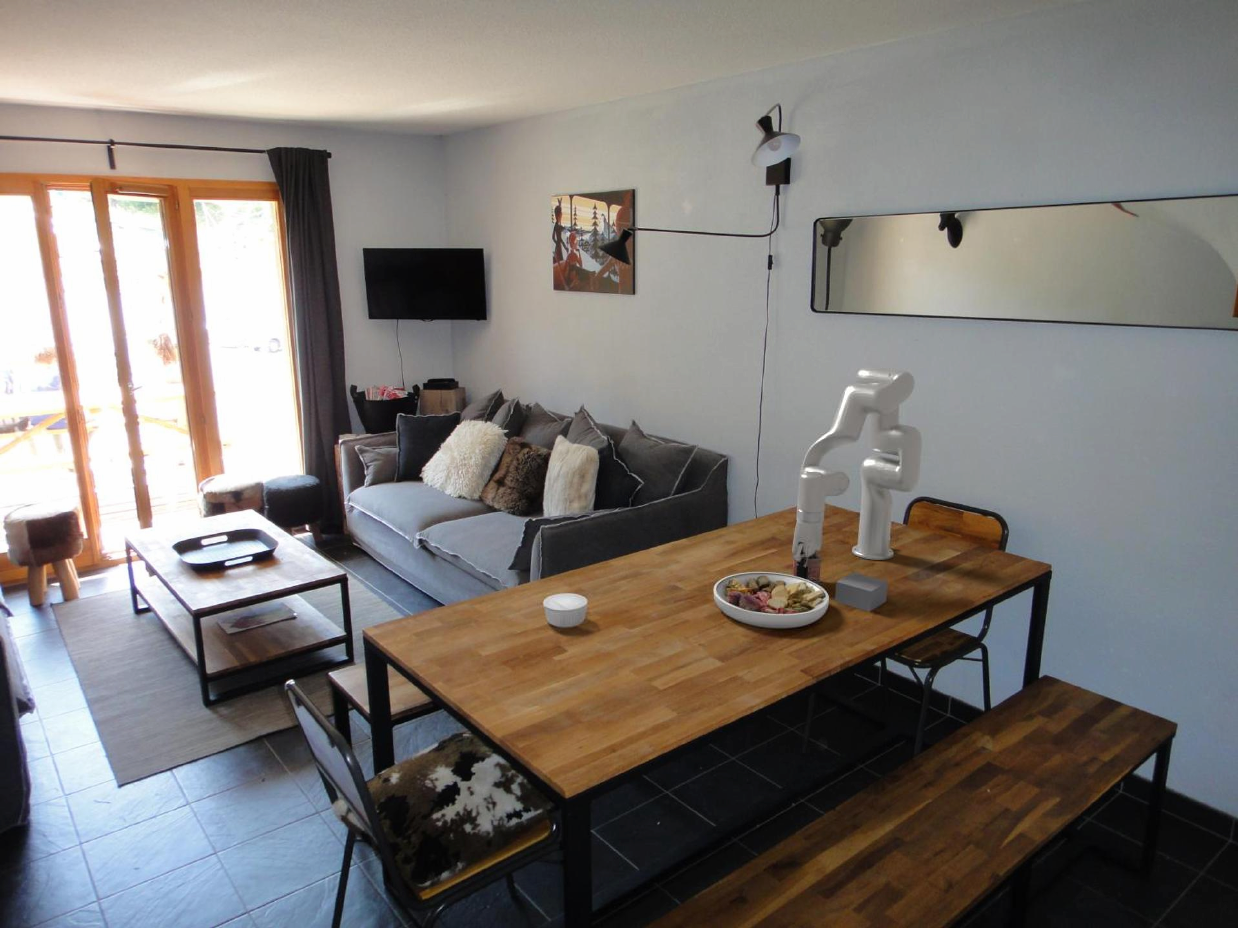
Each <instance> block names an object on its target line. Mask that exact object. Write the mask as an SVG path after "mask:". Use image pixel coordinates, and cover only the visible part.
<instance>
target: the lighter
mask: <svg viewBox="0 0 1238 928" xmlns="http://www.w3.org/2000/svg"><path fill="white" fill-rule="evenodd" d="M818 554H819V551H818V550H817V551H815V553H814V556H813V555H811V556H809V558H808V563H807V566H808V579H807V580H809V581H811V582H813V583H815V584H817V585H819V584H820V583H821V577H820V576H821V565H822V561H823V560H822V559H823V558H822V557H821V556H818ZM795 555H796V554H795ZM795 555H794V554H793V555H792V564H793V565H792V574H791V575H792V576H796V575H797V562H796V560H795ZM802 555H805V553H802ZM801 558H802V559H803V560H804V561H805V558H803V557H801Z"/></svg>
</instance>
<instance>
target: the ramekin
mask: <svg viewBox="0 0 1238 928" xmlns="http://www.w3.org/2000/svg"><path fill="white" fill-rule="evenodd" d="M542 605H543V609H544V613H545V618H546V620H547V622H548V624H550V625H551V626H554V627H557V628H573V627H577V626H579V625H581V624H582V623H583V622H584V620H585V619H586V613H587V607H588V605H589V602H588V599H587V598H586V597H585V596H583V595H581V594H577V593H568V592H567V593H566V592H565V593H563V592H562V593H556V594H552V595H550V596H547V597H546V598H544V600H543V602H542Z"/></svg>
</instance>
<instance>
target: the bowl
mask: <svg viewBox="0 0 1238 928" xmlns="http://www.w3.org/2000/svg"><path fill="white" fill-rule="evenodd" d="M713 598H714V601H715V604H716V605H717V607H718V608H719V609H720V611H722V612H723V614H724V615H727V617H730V618H731V619H733V620H735V621H738V622H740V623H743V624H747V625H751V626H754V627H760V628H765V629H792V628H798V627H799V628H800V627H804V626H807V625H810V624H813V623H815V622H816V621H817V620H819V619H820V618H822V617H823V616H824V615H825V614H826V612H827V609H828V607H829V603H830V596H829V594H828V592H827V590H825V588H824V587H822V586H821V585H819V584H815V583H813V582H811V581H809V580H806V579H803V578H800V577H796V576H792V574H786V573H779V572H771V571H770V572H769V571H752V572H748V571H747V572H741V573H736V574H731V575H727V576H725V577H723V578H721V579H720V580H718V581H717V582H716V583H715V584H714V586H713Z"/></svg>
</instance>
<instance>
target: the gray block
mask: <svg viewBox="0 0 1238 928" xmlns="http://www.w3.org/2000/svg"><path fill="white" fill-rule="evenodd" d="M888 583H889V581H887V580H884V579H880V578H876V577H873V576H869V575H865V574H861V573H858V572H854V571H853V572H852V573H849V574H848V575H846V576H844V577H842V578H841V579H839V580H837V581H836V583H835V595H834V596H835V597H834V602H835V603H837V604H841V605H845V606H848V607H852V608H854V609H858V610H861V611H864V612H868V613H870V612H872V611H873V610H875V609H876V608H878V607H880V606H881V605H883V604H884V603H886V602H887V596H888V595H887V594H888V585H889V584H888Z"/></svg>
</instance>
